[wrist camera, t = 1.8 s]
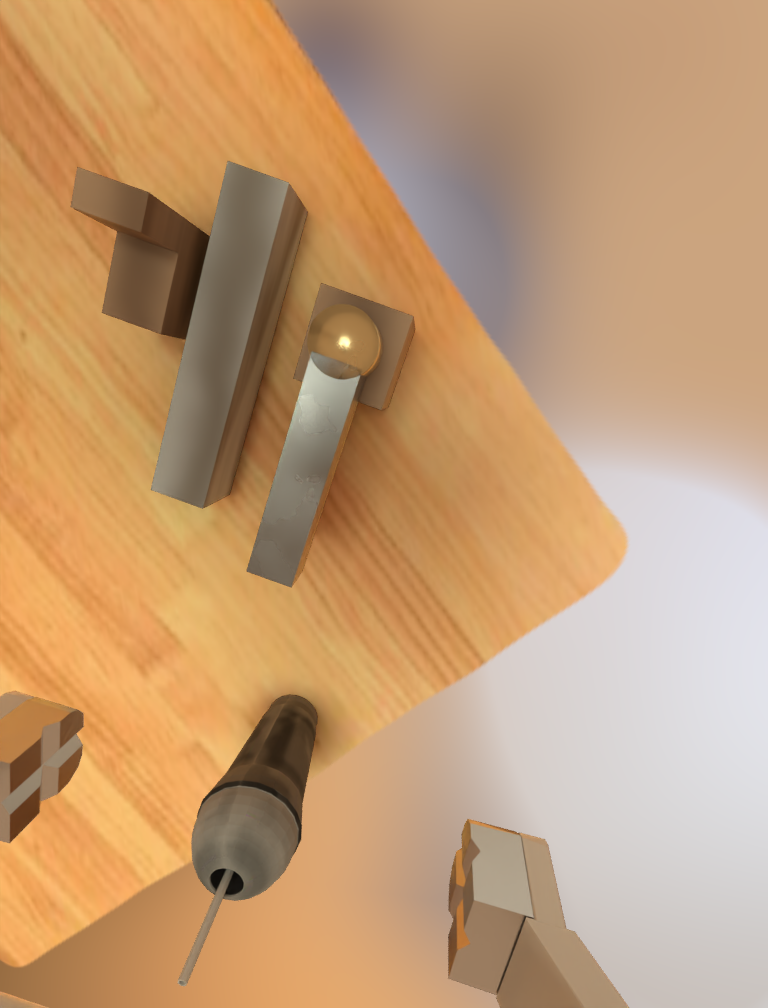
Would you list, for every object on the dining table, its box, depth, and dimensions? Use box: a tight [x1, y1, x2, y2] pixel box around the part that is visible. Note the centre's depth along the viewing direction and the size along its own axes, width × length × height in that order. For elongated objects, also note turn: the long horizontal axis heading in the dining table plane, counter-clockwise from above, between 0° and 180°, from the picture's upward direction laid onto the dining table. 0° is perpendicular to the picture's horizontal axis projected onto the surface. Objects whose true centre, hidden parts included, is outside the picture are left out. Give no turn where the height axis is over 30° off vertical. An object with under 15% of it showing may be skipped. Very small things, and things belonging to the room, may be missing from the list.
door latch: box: [71, 161, 415, 508], centre depth 32 cm, size 19×22×10 cm
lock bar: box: [247, 304, 383, 587], centre depth 30 cm, size 17×4×3 cm, turn 161°
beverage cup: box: [178, 695, 317, 986], centre depth 35 cm, size 7×7×20 cm
